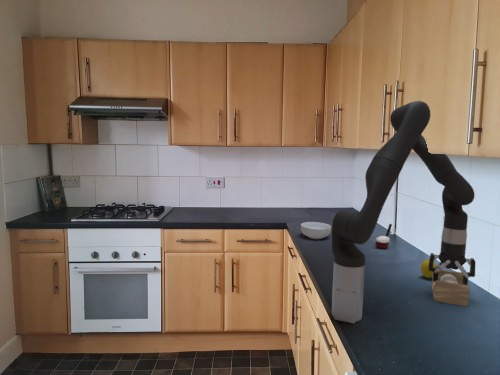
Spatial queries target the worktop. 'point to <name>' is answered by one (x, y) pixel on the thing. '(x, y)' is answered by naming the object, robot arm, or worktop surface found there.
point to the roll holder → (451, 289)
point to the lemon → (425, 269)
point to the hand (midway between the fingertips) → (449, 284)
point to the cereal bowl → (315, 230)
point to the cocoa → (383, 240)
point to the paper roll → (448, 278)
